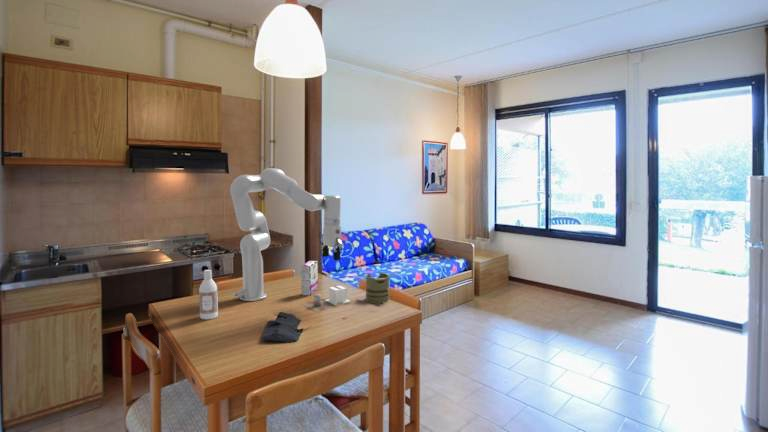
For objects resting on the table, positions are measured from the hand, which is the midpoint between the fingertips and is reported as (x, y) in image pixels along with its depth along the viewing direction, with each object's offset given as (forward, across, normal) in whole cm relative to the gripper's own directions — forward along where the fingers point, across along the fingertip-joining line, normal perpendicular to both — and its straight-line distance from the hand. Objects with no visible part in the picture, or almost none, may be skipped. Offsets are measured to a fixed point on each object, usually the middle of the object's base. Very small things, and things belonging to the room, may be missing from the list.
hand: (331, 258), depth 182 cm
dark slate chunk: (+22, -19, +33) cm, 44 cm away
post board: (+21, -4, +3) cm, 22 cm away
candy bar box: (+22, +17, +1) cm, 28 cm away
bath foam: (+23, +15, +50) cm, 57 cm away
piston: (+21, -10, -21) cm, 31 cm away
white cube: (+20, -4, -2) cm, 20 cm away
